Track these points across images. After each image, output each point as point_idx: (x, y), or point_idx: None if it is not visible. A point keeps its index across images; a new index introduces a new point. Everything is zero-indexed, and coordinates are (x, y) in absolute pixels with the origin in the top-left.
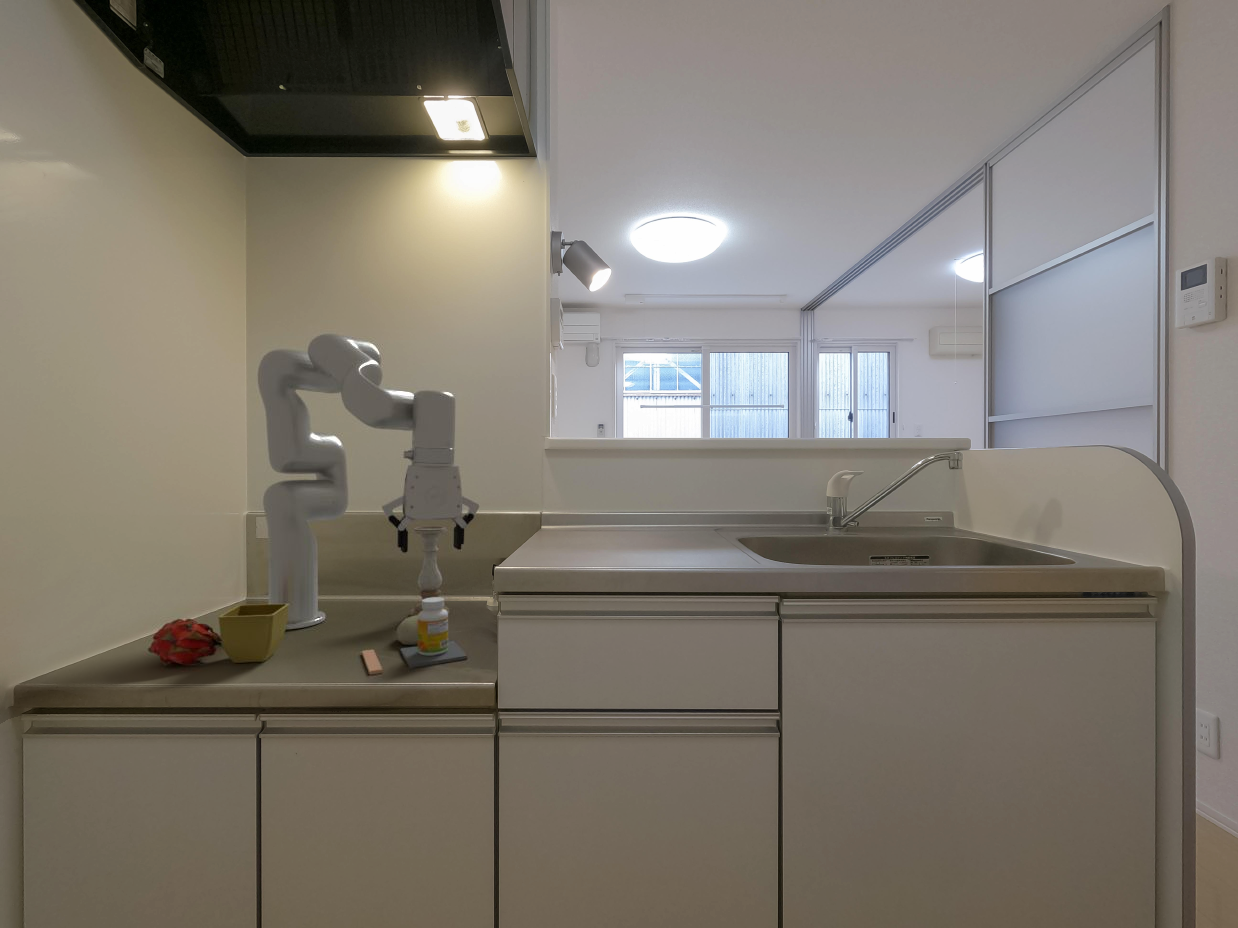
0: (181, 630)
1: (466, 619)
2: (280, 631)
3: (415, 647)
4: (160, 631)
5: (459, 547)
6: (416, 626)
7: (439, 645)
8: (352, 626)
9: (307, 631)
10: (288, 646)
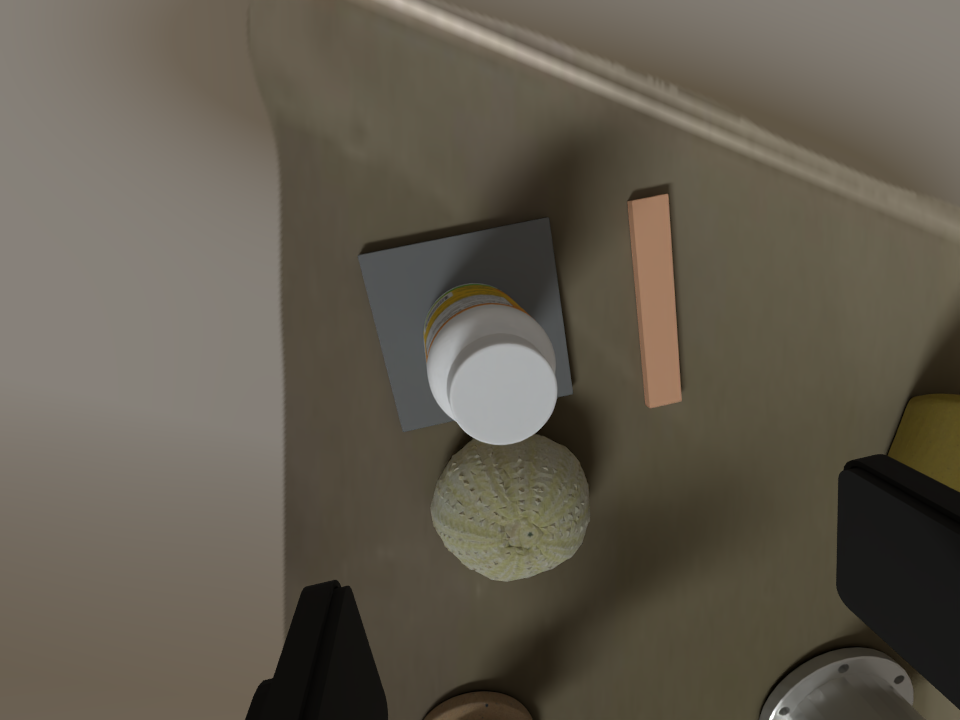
0: None
1: None
2: (936, 475)
3: None
4: None
5: (320, 591)
6: (535, 472)
7: (455, 292)
8: (691, 653)
9: (800, 629)
10: None
